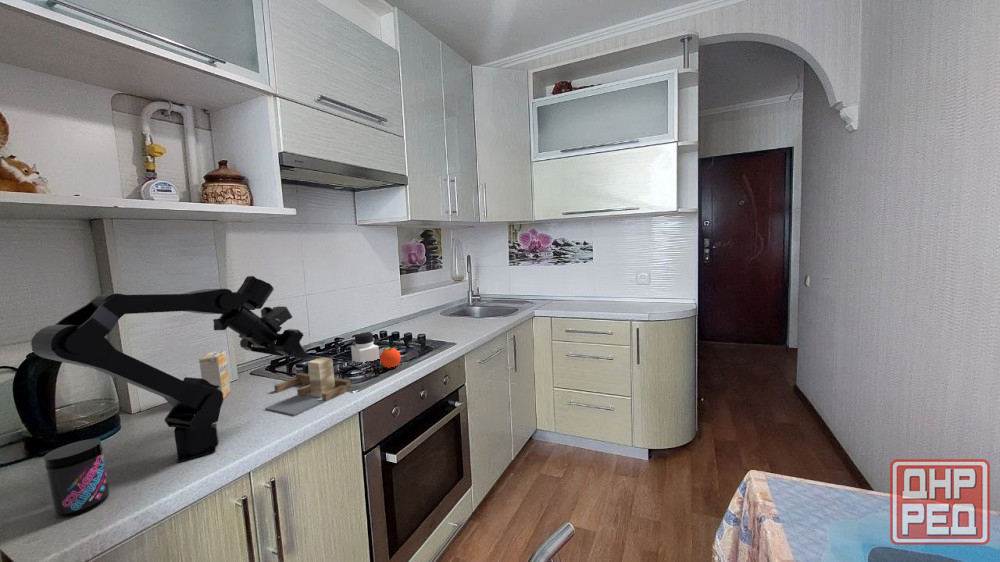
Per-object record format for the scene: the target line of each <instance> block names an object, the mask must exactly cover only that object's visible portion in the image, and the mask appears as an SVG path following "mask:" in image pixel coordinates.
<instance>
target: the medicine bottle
mask: <svg viewBox="0 0 1000 562" xmlns="http://www.w3.org/2000/svg"><path fill="white" fill-rule="evenodd" d="M354 342H355V344H354V345H355V346H352V347H350V350H351V361H352V362H353V361H355V362H366V361H374V360H377V359H380V356H381V354H380V347H379V345H377V344H374V336H373V333H372V332H370V331H362V332H359V333H357V334H355V335H354Z"/></svg>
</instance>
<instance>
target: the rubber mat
mask: <svg viewBox="0 0 1000 562" xmlns="http://www.w3.org/2000/svg"><path fill="white" fill-rule="evenodd" d="M325 402H326V401H323V399H318V398H312V397H307V396H298V394H297V395H293V396H291V397H289V398H287V399H284V400H282V401H279V402H276V403H274V404H272V405H269V406H267V407H265V410H267V411H271V412H276V413H281V414H284V415H289V416H293V417H296V416H298V415H300V414H302V413H304V411H305V412H306V410H307V411H309V410H310V409H313V408H315V407H317V405H318V406H319V405H322V404H324V403H325Z"/></svg>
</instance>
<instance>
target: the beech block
mask: <svg viewBox="0 0 1000 562" xmlns="http://www.w3.org/2000/svg"><path fill="white" fill-rule="evenodd" d="M307 366H308V374H309V378H310V386H311V393H310V394H311V397H317V396H318V398H322V394H323V393H325V392H327V391H329V390H332V389H334V388H335V380H334V378H335V372H334V363H333V358H329V357H324V356H323V357H319V358H315V359H311V360H310V361H307Z"/></svg>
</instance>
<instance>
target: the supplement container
mask: <svg viewBox="0 0 1000 562" xmlns="http://www.w3.org/2000/svg"><path fill="white" fill-rule="evenodd" d="M102 443H103V442H102V440H101V439H100V438H89V439H84V440H83V439H82V440H79V441H75V442H72V443H68V444H66V445H62V446H59V447H57V448H55V449H53V450H51V451H49V452H48V453H46V454H45V455H44V456H43V462H44V468H45V471H46V476H47V482H48V487H49V492H50V497H51V502H52V508H53V513H54V514H53V515H55V516H56V517H59V518H70V517H71V518H72V517H75V516H78V515H81V514H83V513H86V512H89V511H91V510H93V509H96V508H98V507H99V506H100V505H101V504H103V503H105V502H106V501H107V499H108V498H109V497H110V494H111V492H110V486H109V479H108V474H107V468H106V463H105V462H106V461H105V456H104V449H103V444H102Z"/></svg>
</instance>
